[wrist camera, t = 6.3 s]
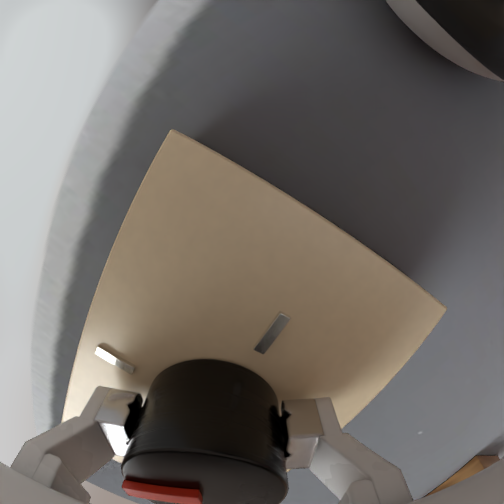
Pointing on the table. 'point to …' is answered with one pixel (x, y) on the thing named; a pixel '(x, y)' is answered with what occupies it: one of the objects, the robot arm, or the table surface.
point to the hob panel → (244, 291)
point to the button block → (468, 471)
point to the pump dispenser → (459, 31)
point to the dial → (207, 438)
